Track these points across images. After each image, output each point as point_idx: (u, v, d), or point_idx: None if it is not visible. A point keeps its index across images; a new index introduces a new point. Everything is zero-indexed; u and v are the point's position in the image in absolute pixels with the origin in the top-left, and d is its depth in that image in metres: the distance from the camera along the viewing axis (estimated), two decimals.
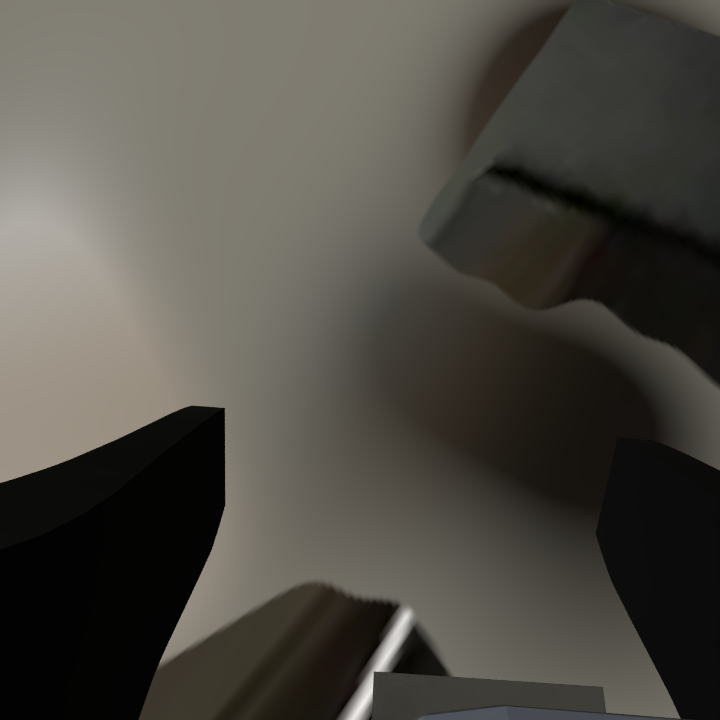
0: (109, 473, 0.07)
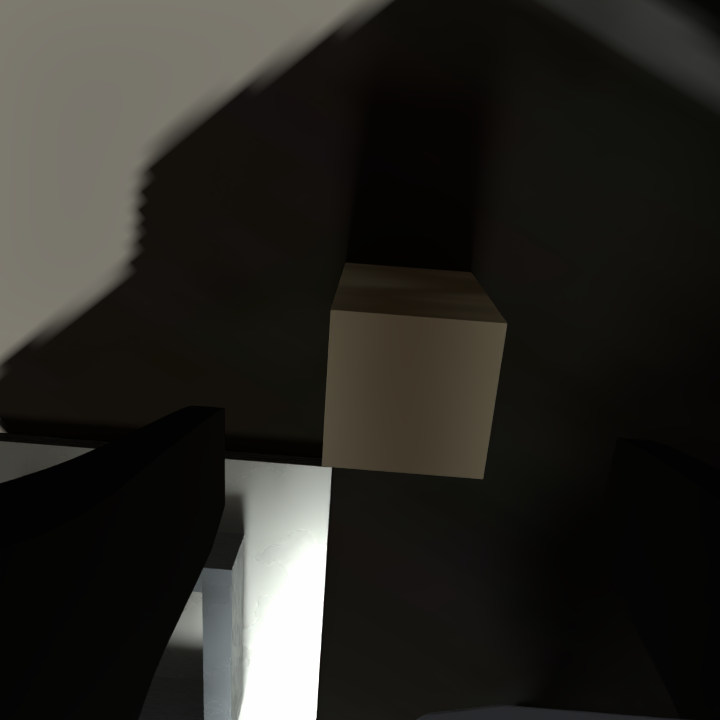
0: (109, 473, 0.07)
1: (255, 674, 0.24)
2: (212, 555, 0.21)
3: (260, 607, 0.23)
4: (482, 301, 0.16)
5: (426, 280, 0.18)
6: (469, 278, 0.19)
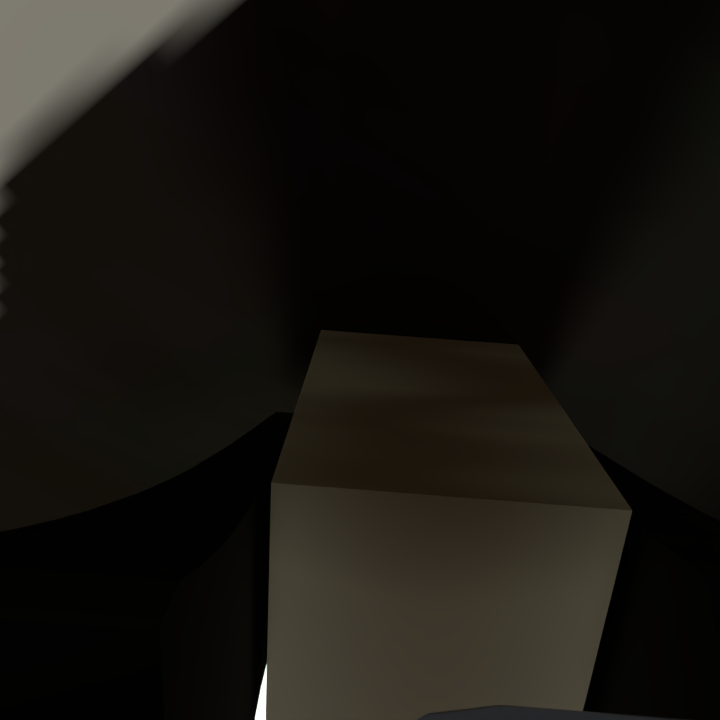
0: (236, 483, 0.07)
1: None
2: None
3: None
4: (559, 429, 0.09)
5: (452, 370, 0.11)
6: (520, 361, 0.11)
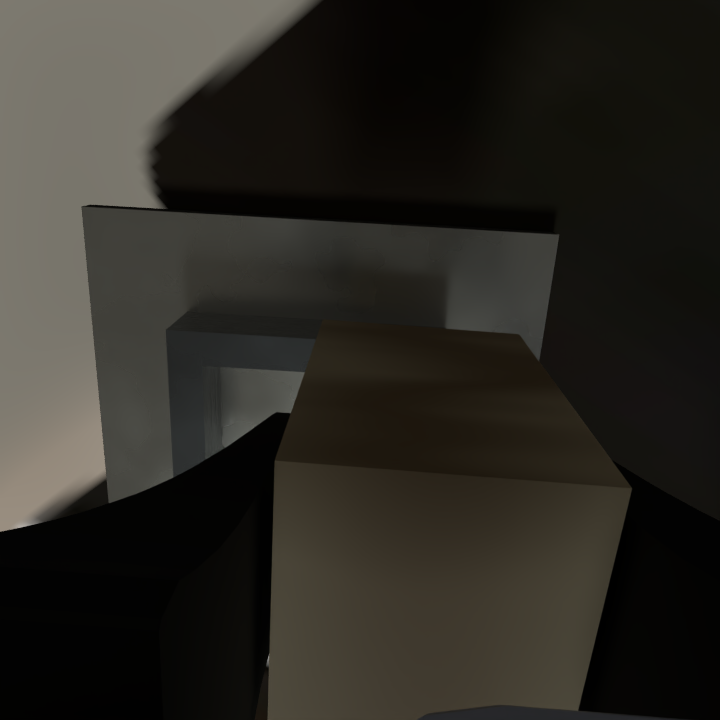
0: (236, 483, 0.07)
1: None
2: None
3: None
4: (560, 412, 0.09)
5: (453, 357, 0.11)
6: (520, 349, 0.12)
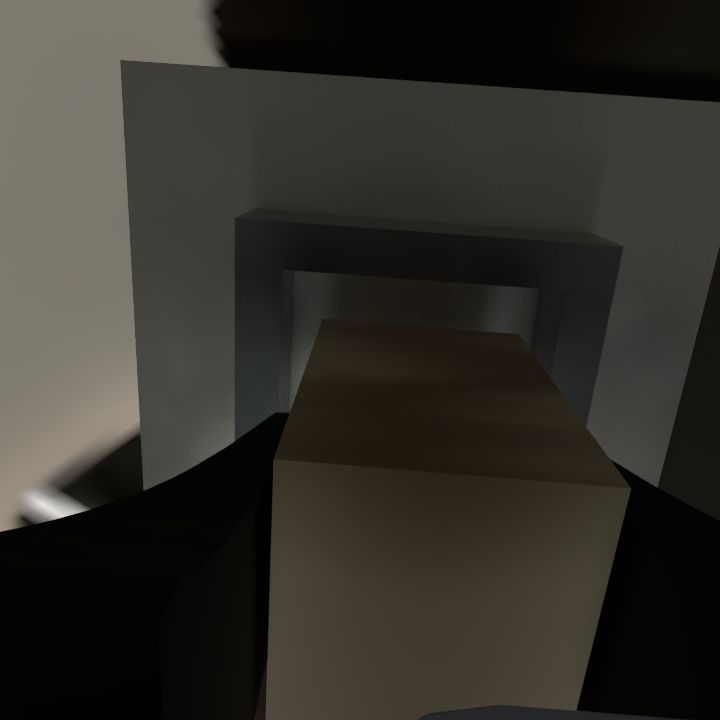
0: (235, 483, 0.07)
1: None
2: (573, 239, 0.13)
3: None
4: (559, 412, 0.09)
5: (452, 357, 0.11)
6: (520, 349, 0.12)
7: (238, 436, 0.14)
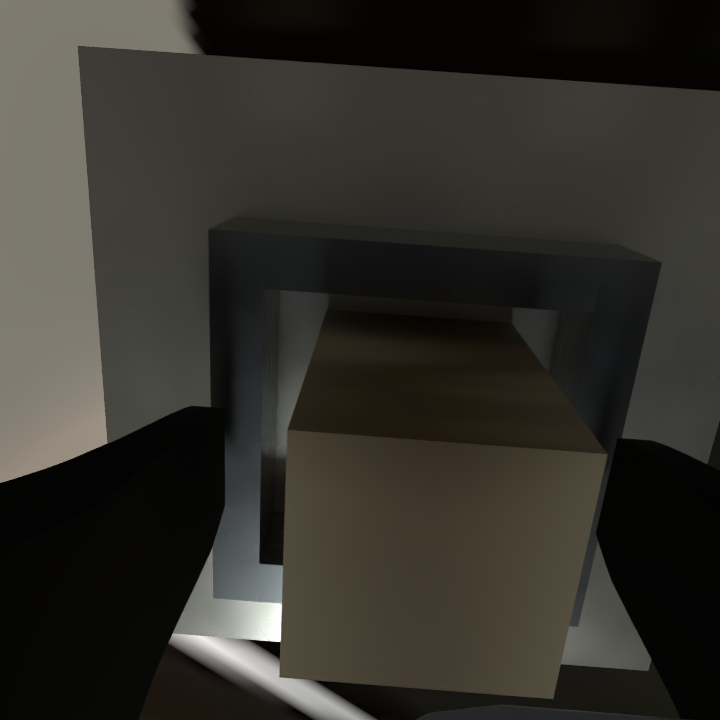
0: (108, 473, 0.07)
1: None
2: (601, 253, 0.12)
3: None
4: (546, 391, 0.10)
5: (449, 343, 0.12)
6: (512, 336, 0.12)
7: None
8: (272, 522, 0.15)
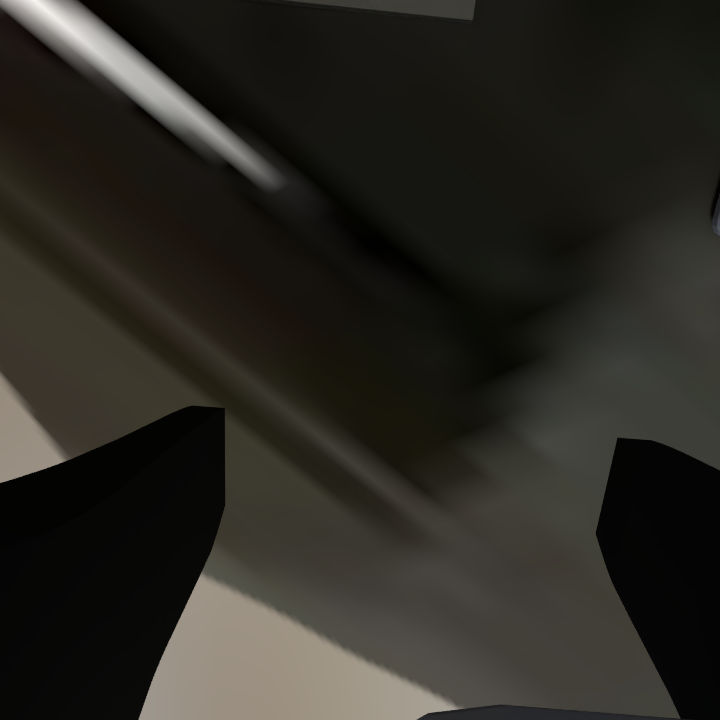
0: (109, 473, 0.07)
1: None
2: None
3: None
4: None
5: None
6: None
7: None
8: None
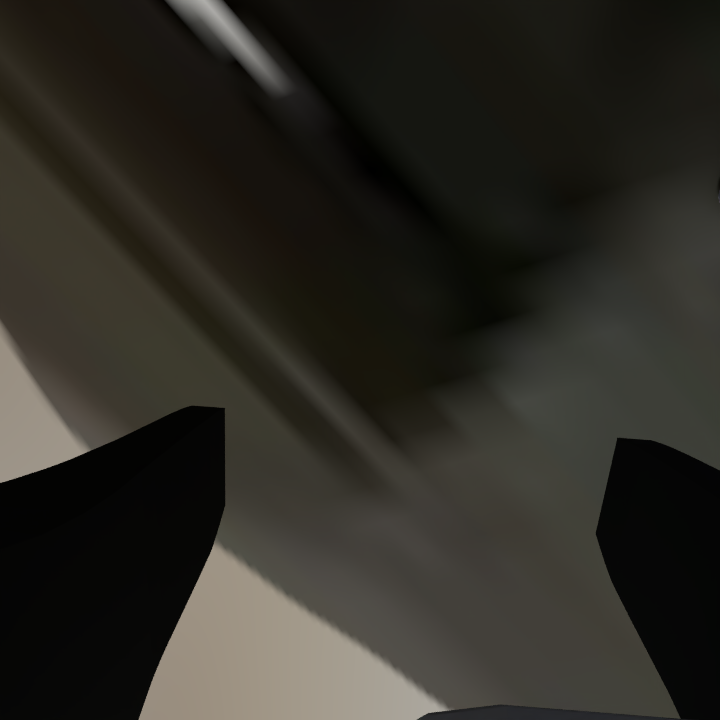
0: (109, 473, 0.07)
1: None
2: None
3: None
4: None
5: None
6: None
7: None
8: None
